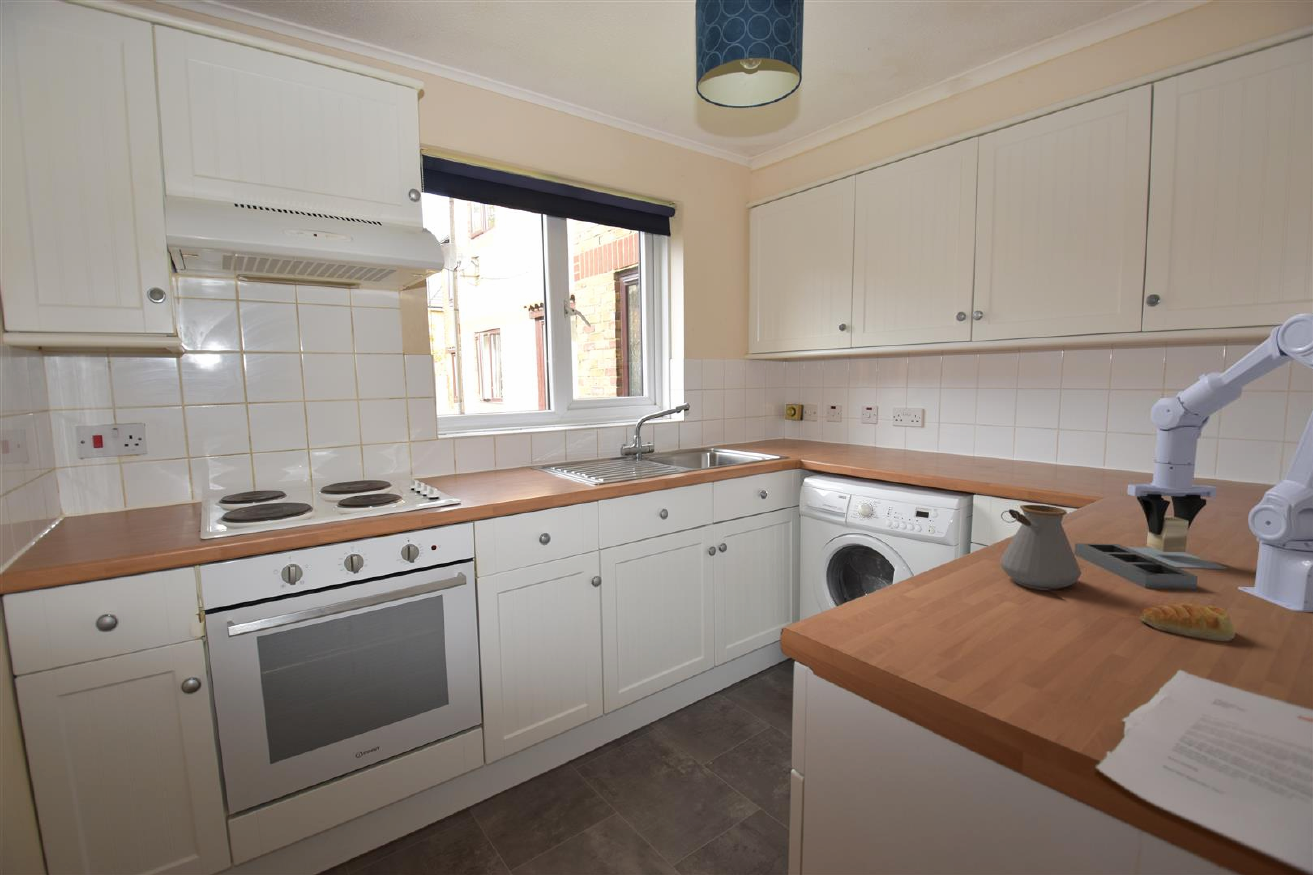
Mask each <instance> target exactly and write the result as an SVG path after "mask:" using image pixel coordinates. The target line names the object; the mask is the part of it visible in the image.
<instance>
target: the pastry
mask: <svg viewBox="0 0 1313 875" xmlns="http://www.w3.org/2000/svg"><path fill="white" fill-rule="evenodd" d="M1139 618H1140V620H1141V621H1143V622H1144V623H1145V624H1147V625H1149V626H1151V627H1153V628H1155V629H1156V630H1159V631H1162V632H1167V633H1172V634H1174V635H1175V634H1176V635H1179V636H1180V635H1181V636H1184V637H1190V638H1191V637H1192V638H1197V639H1203V640H1211V641H1212V640H1213V641H1219V642H1220V641H1221V642H1231V640H1232V639H1234V638H1235V637H1236V635H1235V634H1236V632H1235V629H1234V625H1233V623H1232V621H1231V618H1230V614H1229V613H1228V612H1227V611H1226V610H1225V609H1223V608H1222V607H1220V606H1218V607H1216V606H1214V605H1208V606H1204V605H1199V604H1195V603H1187V602H1186V603H1185V602H1180V603H1174V604H1170V605H1163V604H1161V605H1157V606H1151V607H1146V608H1143V610H1142V612H1141V614H1140V617H1139Z"/></svg>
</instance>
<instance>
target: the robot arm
mask: <svg viewBox="0 0 1313 875" xmlns="http://www.w3.org/2000/svg"><path fill="white" fill-rule="evenodd" d="M1292 361H1298V362H1299V363H1300V364H1302V365H1305V366H1306V367H1308V368H1310V369H1311V370H1313V313H1312V312H1309V313H1308V312H1305V313H1299V314H1296V315H1294V316H1291V317H1289V319H1287V320H1285V322H1284V323H1282V324H1280V325H1278V326H1276V327H1275V328H1272V330H1271V332H1270V336H1269V337H1268V338H1267V339H1266V340H1265V341H1263V342H1262V343H1261V344H1259V345H1258V346H1257V347H1255V348H1254V349H1253V350H1252V351H1250V352H1249V353H1248V354H1246V355H1245V356H1243V357H1242V358H1241V359H1239V360H1238V361H1237V362H1236V363H1235V364H1233V365H1232V366H1231V367H1229V368H1228V369H1226V370H1225V371H1224V372H1219V371H1216V372H1210V373H1203V374H1202V375H1200V376H1199V377H1198V379H1199V380H1198V381H1197V382H1195V383H1193V384H1192V385H1190V386H1189V387H1188V388H1186V389H1185V390H1181V391H1178V393H1177V395H1176V396H1173V397H1171V398H1170V397H1163V398H1160V399H1158V400H1157V402H1155V403H1154V404H1153V406H1152V407H1151V409H1150V415H1149V416H1150V421H1151V423H1152V424H1153V425H1154V427H1156V428H1157V430H1156V431H1157V432H1156V439H1155V440H1156V442H1155V453H1154V464H1153V474H1152V476H1153V477H1152V482H1150V483H1140V484H1139V483H1138V484H1136V483H1135V484H1128V485H1127V495H1128V496H1129V495H1130V496H1133V497H1136V500H1137V501H1138V503H1139V505H1140V506H1141V508H1142V511H1143V512H1144V515H1145V518H1146V523H1147V529H1148V528H1149V532H1151V533H1153V534H1156V535H1161V532H1162V528H1163V522H1164V517H1165V516H1166V513H1167V510H1168V508H1169V506H1170V504H1171V503H1172V507H1173V516H1174V517H1177V518H1180V519H1184V520H1187V521H1189V523H1188V530H1189V529H1190V527H1191V525H1192V524H1193V521H1194V519H1195V518H1196V516H1197V515H1198V513H1200V512H1201V511H1202V509H1203V508H1204V507H1205V506H1206V505H1207V499H1206V498H1207V497H1208V498H1217V496H1218V495H1217V492H1218V487H1217V486H1211V485H1204V484H1203V485H1201V484H1200V485H1199V484H1194V480H1195V479H1194V478H1195V467H1196V456H1197V448H1198V440H1199V438H1200V437H1201V436H1202V430H1203V429H1204V427H1205V426H1206V425H1207V424H1208V422H1209V421H1210V416H1212V415H1213V414H1215V413H1217V412H1218V411H1220V410H1222V409H1223V408H1224V407H1226V406H1228V405H1229V404H1231V403H1233V402H1235V401H1236V400H1237V399H1239V398H1240V397H1241V396H1242V393H1243V387H1245V386H1246V385H1249V384H1250V383H1252V382H1254V381H1255V380H1257V379H1259V378H1261V377H1263V376H1265V375H1267V374H1269V373H1270V372H1272V371H1274V370H1276V369H1277V368H1279V367H1281V366H1282V365H1284V364H1287V363H1288V362H1292ZM1164 497H1171V500H1167V499H1164ZM1203 497H1205V498H1203ZM1247 518H1248V520H1247V521H1248V527H1249V529H1250V531H1251V532H1252V533H1253V535H1254V536H1255V537H1256V542H1259V545H1258V547H1259V548H1258V555H1257V563H1256V573H1255V581H1254V586H1238V587H1237V589H1238V590H1240V591H1242V592H1245V593H1248V594H1250V595H1252V596H1256V597H1257V598H1260V599H1262V600H1265V601H1267V602H1269V603H1272V604H1275V605H1277V606H1280V607H1283V608H1285V609H1286V610H1287V609H1288V610H1291V611H1294V612H1297V613H1298V612H1300V613H1301V612H1302V613H1303V612H1304V613H1313V410H1312V411H1311V414H1310V416H1309V419H1308V422H1307V424H1306V426H1305V429H1304V431H1303V433H1302V435H1301V439H1300V440H1299V444H1298V446H1297V448H1296V451H1295V453H1294V456H1293V458H1292V461H1291V463H1290V465H1289V468H1288V469H1287V472H1286V475H1285V478H1284V479H1283V481H1281V482H1280V483H1278V484H1277V485H1275V486H1273V487H1272V488H1270V489H1269V490H1267V491H1266V492H1264V495H1263V498H1262V499H1261V500H1260V502H1259V503H1257V504H1256V505H1255V506H1254V507H1253V508H1251V510H1250V511H1249V513H1248V517H1247Z"/></svg>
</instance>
